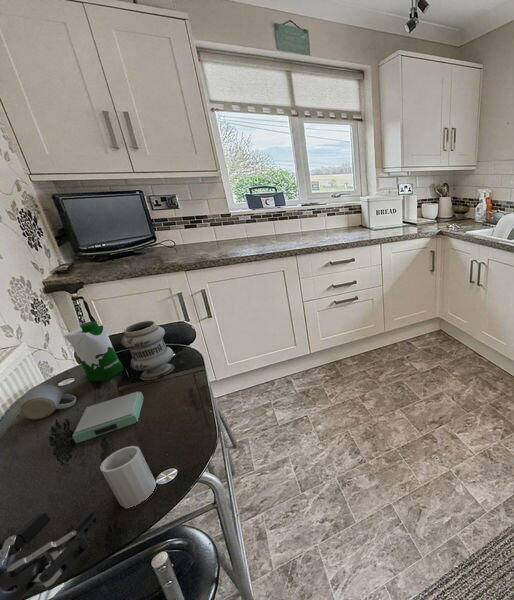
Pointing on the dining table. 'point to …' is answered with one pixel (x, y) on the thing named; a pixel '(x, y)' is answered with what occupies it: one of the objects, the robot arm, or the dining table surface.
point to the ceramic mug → (44, 401)
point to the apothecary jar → (148, 349)
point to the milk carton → (95, 351)
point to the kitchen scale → (109, 416)
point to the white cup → (128, 476)
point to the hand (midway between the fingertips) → (70, 514)
